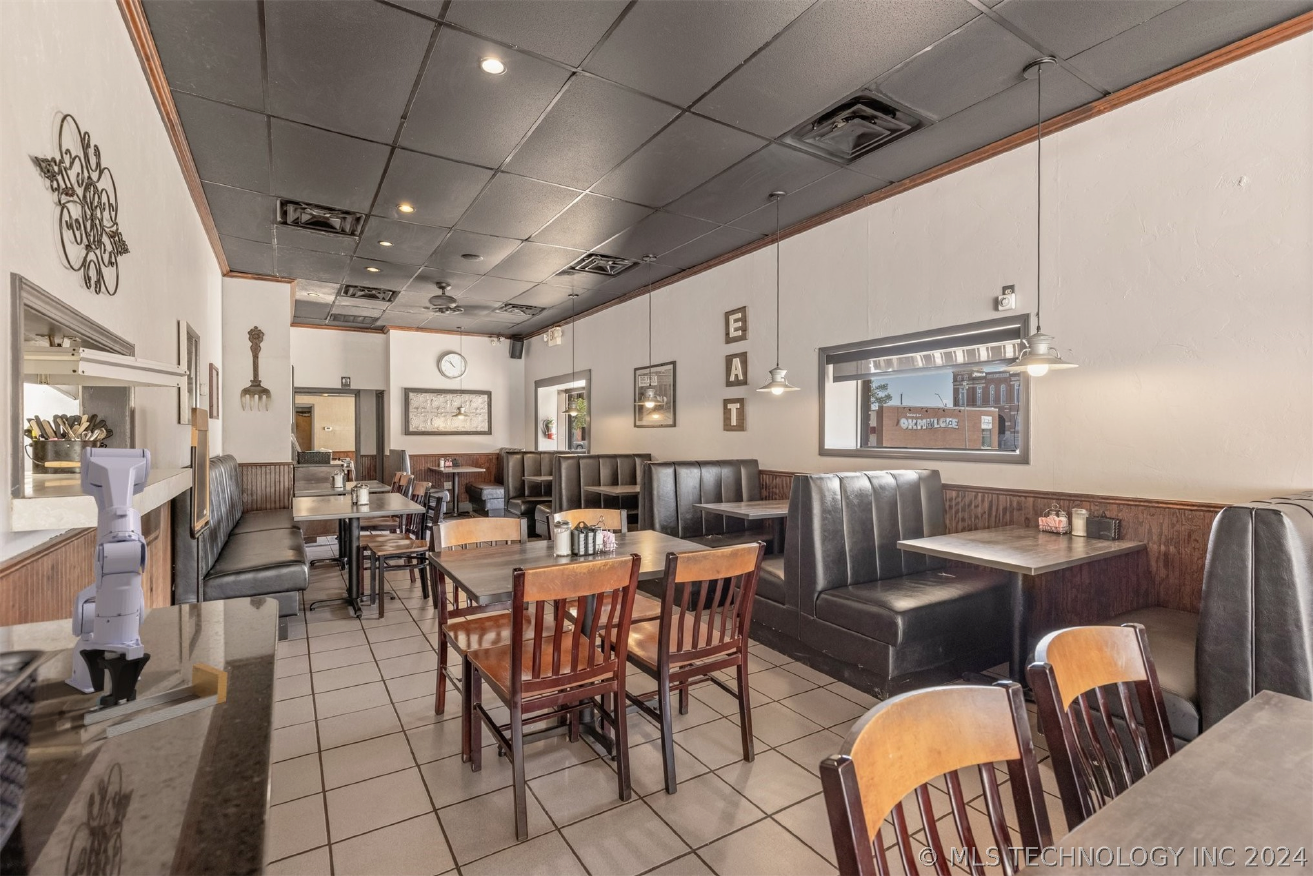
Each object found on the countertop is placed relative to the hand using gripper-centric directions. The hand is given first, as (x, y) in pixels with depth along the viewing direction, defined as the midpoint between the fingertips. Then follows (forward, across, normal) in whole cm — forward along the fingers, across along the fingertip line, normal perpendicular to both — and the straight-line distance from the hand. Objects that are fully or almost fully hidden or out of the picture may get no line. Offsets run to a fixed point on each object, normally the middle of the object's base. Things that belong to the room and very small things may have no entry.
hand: (112, 694), depth 102 cm
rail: (+3, +7, +3) cm, 8 cm away
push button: (+3, 0, 0) cm, 3 cm away
